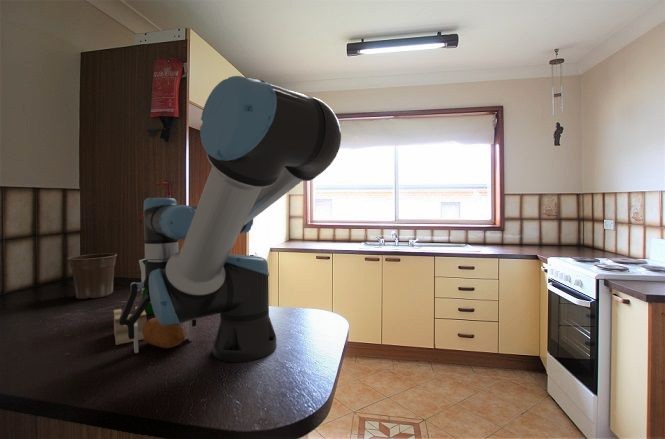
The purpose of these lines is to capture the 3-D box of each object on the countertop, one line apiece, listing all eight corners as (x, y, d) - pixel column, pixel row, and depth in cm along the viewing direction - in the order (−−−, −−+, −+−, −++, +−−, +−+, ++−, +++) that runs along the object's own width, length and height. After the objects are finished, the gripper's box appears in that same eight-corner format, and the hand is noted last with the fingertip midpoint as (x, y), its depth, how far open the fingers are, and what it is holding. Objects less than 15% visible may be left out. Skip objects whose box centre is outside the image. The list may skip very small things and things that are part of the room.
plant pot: (58, 299, 128) (57, 258, 128) (98, 289, 144) (97, 252, 143) (89, 302, 124) (88, 259, 123) (127, 292, 139) (126, 253, 139)
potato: (166, 335, 90) (165, 310, 90) (191, 347, 83) (190, 319, 82) (138, 344, 85) (137, 316, 85) (161, 357, 77) (161, 327, 77)
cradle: (147, 338, 88) (146, 314, 88) (115, 344, 84) (115, 319, 84) (143, 327, 97) (142, 305, 96) (114, 332, 93) (113, 310, 92)
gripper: (207, 253, 93) (208, 330, 94) (104, 262, 79) (106, 351, 80) (214, 256, 87) (216, 338, 88) (104, 266, 73) (107, 363, 74)
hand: (164, 344), depth 84 cm, fingers open, 11 cm apart
